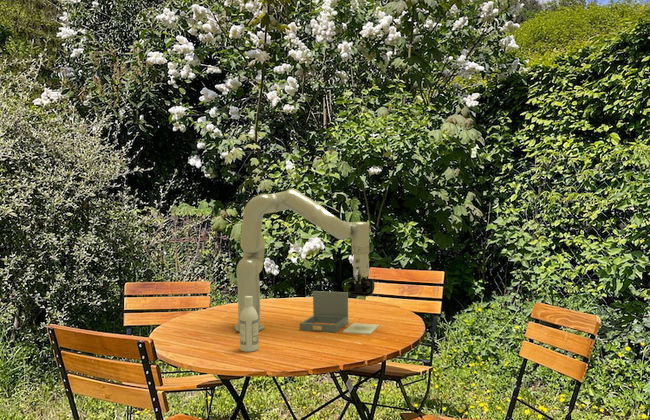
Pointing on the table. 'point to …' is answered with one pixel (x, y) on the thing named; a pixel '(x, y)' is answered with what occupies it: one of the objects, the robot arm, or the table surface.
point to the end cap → (366, 287)
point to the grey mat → (361, 328)
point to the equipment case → (327, 312)
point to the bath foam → (249, 327)
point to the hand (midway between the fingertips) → (361, 291)
